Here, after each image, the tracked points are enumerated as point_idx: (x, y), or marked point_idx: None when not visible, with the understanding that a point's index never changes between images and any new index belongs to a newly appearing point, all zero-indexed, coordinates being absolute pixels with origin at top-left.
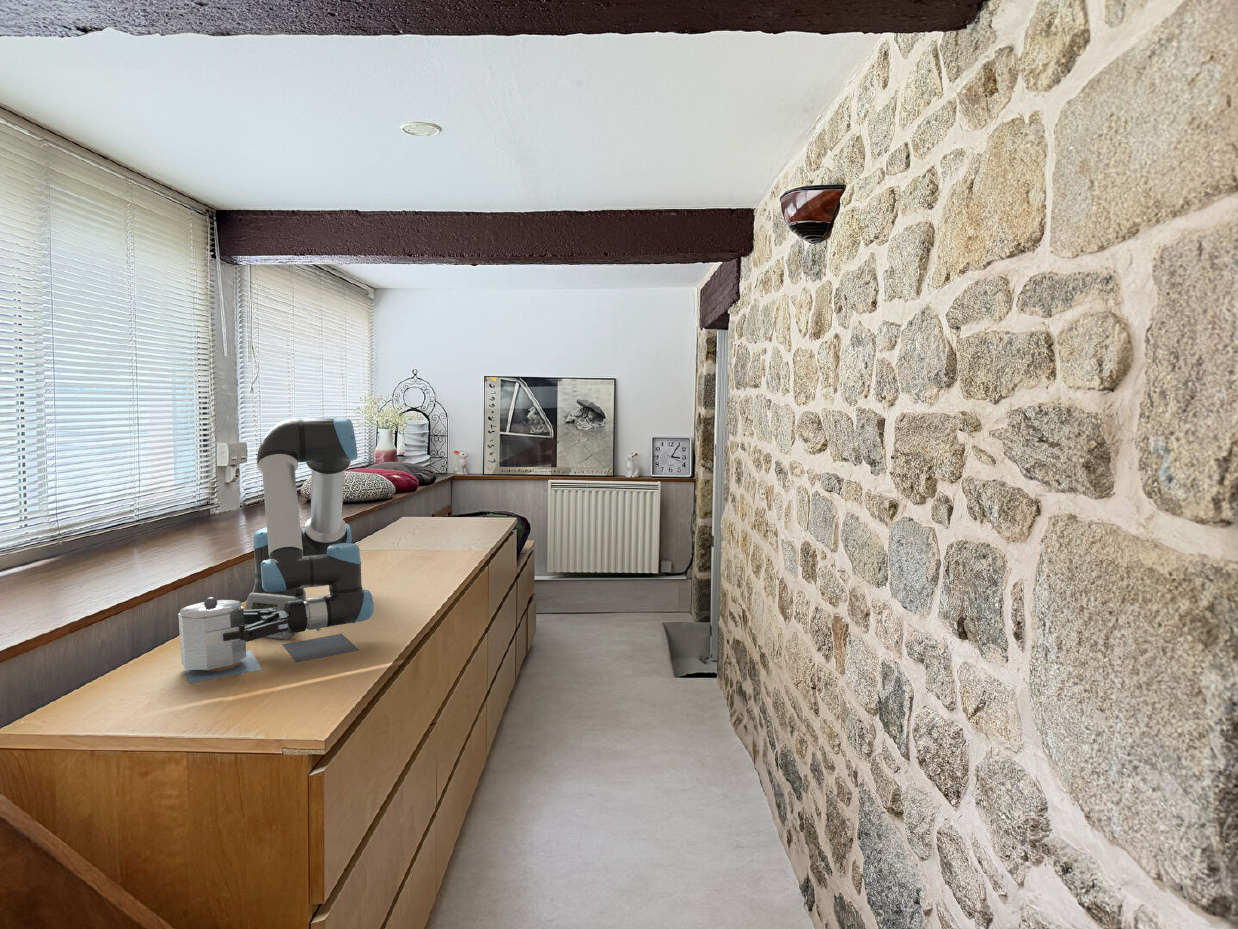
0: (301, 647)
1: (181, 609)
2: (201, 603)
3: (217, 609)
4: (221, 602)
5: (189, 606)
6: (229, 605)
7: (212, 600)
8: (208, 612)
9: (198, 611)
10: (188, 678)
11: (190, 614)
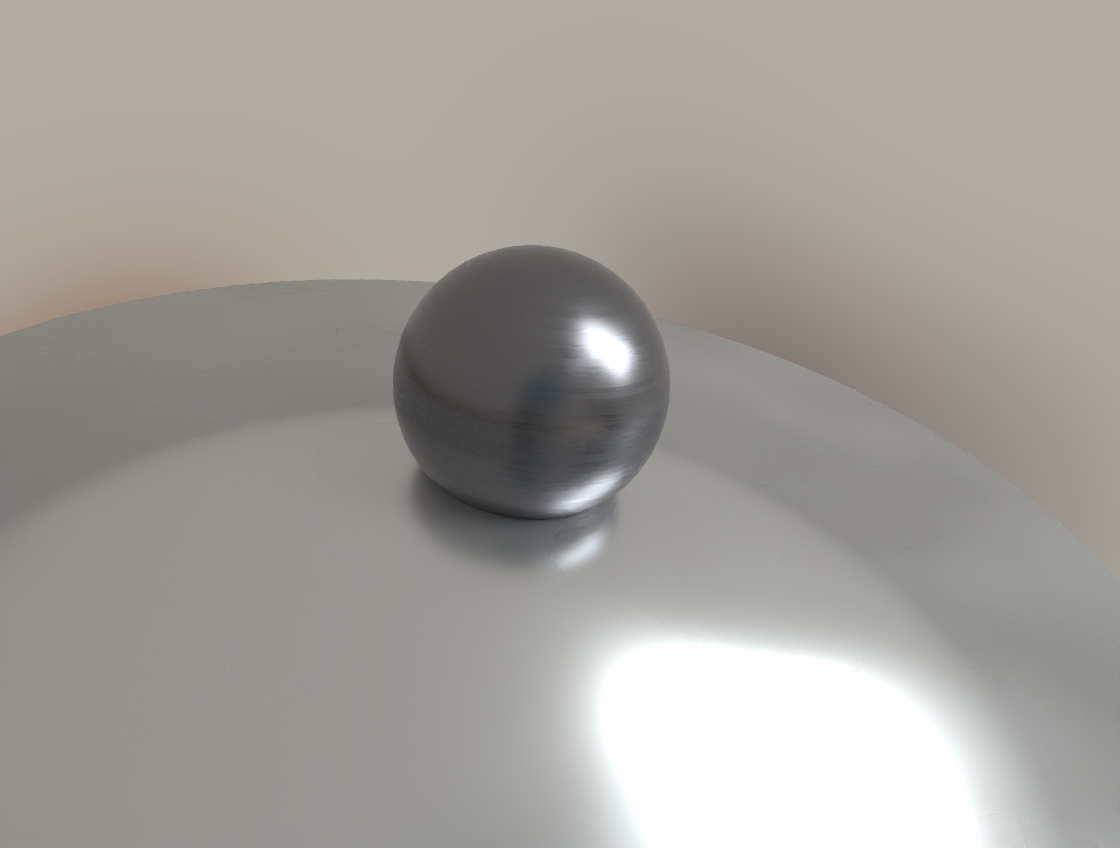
0: None
1: (666, 322)
2: (943, 474)
3: (165, 463)
4: (893, 687)
5: (794, 378)
6: (285, 729)
7: (430, 297)
8: (114, 358)
9: (361, 338)
10: None
11: (287, 285)
